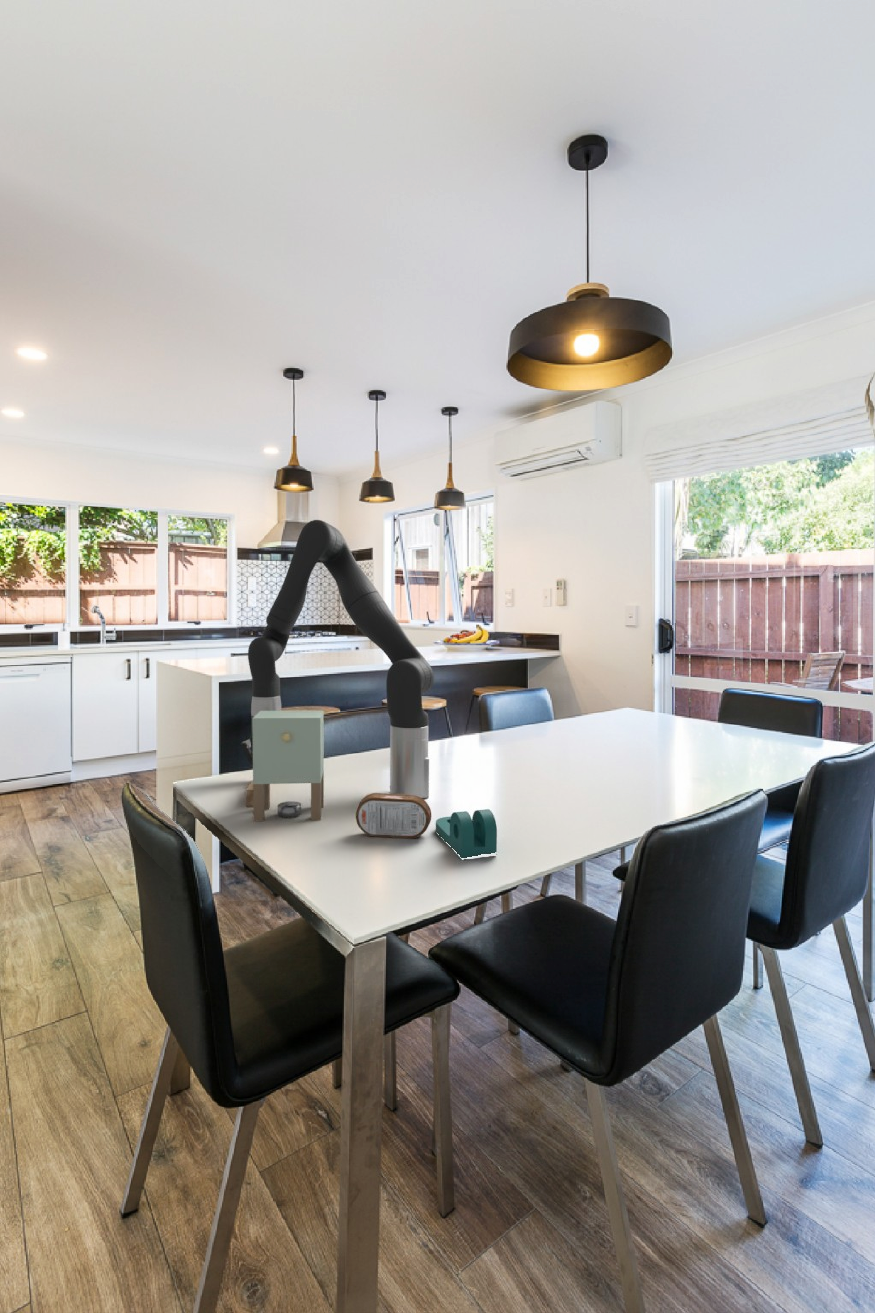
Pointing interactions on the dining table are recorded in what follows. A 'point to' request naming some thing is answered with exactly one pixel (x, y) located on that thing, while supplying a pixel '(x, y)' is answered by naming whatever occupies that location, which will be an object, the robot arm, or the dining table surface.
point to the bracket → (469, 832)
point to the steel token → (289, 809)
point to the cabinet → (288, 756)
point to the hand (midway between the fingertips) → (267, 778)
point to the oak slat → (249, 795)
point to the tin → (393, 815)
